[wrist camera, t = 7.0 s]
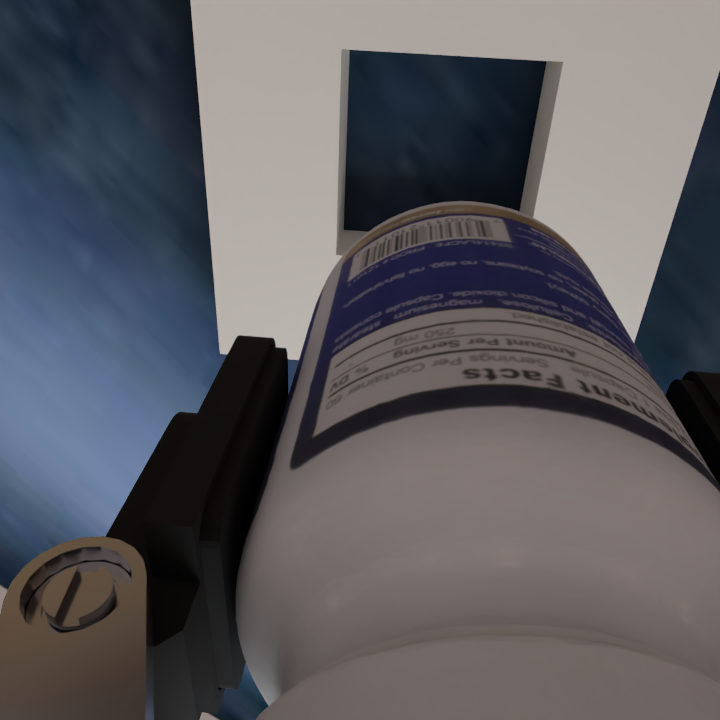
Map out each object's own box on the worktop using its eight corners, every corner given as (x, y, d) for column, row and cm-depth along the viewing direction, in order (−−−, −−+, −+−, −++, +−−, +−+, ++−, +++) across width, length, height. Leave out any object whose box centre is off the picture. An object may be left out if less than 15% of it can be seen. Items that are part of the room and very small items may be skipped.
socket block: (736, -111, 21) (780, -123, 19) (603, 351, 30) (620, 386, 28) (206, -135, 22) (177, -149, 19) (236, 322, 31) (219, 353, 29)
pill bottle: (488, 475, 15) (573, 1131, 6) (272, 365, 14) (32, 979, 5) (663, 286, 12) (1220, 1006, 4) (410, 129, 11) (362, 636, 3)
